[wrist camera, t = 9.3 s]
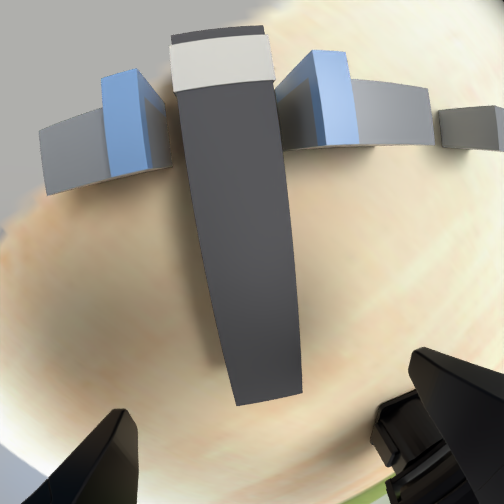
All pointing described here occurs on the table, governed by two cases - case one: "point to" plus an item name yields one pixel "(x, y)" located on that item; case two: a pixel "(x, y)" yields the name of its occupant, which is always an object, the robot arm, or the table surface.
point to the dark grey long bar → (241, 204)
